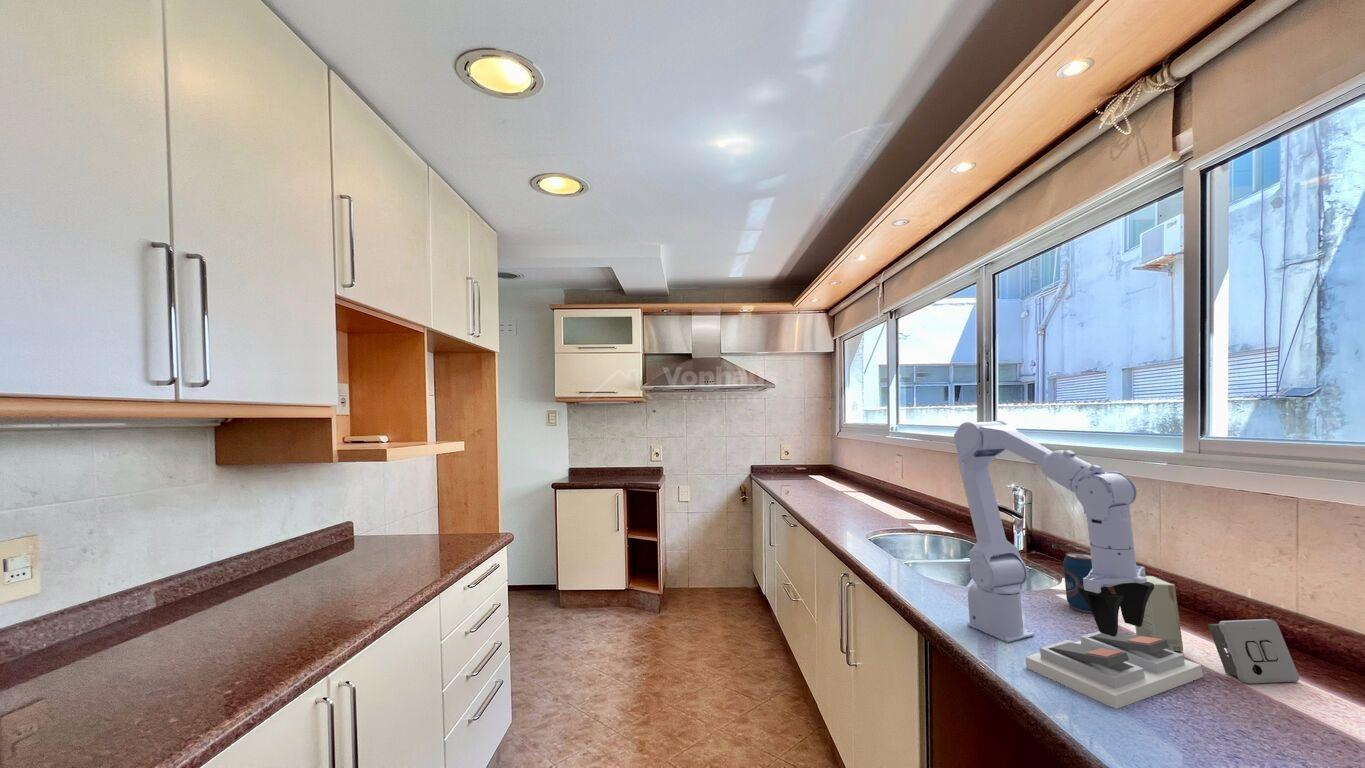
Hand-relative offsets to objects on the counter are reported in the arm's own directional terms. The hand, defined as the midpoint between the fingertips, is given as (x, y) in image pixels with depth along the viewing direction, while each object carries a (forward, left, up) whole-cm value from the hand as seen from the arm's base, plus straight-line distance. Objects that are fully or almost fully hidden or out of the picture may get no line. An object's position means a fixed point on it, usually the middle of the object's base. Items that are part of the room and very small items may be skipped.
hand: (1120, 629), depth 83 cm
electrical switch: (+6, +23, -10) cm, 26 cm away
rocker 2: (-4, +9, -5) cm, 11 cm away
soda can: (-24, +30, -10) cm, 40 cm away
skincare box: (-7, +23, -10) cm, 26 cm away
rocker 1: (-4, -2, -5) cm, 7 cm away
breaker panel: (-4, +4, -10) cm, 11 cm away
